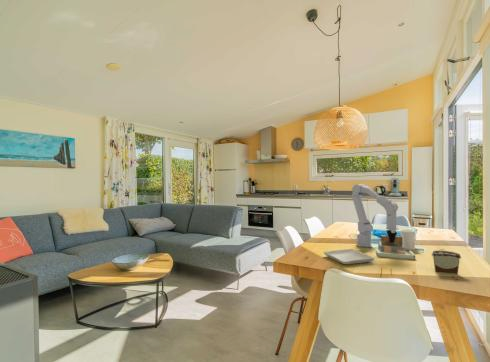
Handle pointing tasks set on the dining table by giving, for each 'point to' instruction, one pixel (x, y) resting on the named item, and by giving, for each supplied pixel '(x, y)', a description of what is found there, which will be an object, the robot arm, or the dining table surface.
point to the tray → (396, 255)
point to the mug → (408, 239)
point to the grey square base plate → (393, 248)
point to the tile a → (387, 249)
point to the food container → (446, 262)
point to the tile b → (400, 252)
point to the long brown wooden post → (386, 240)
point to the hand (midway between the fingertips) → (391, 241)
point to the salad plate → (349, 256)
